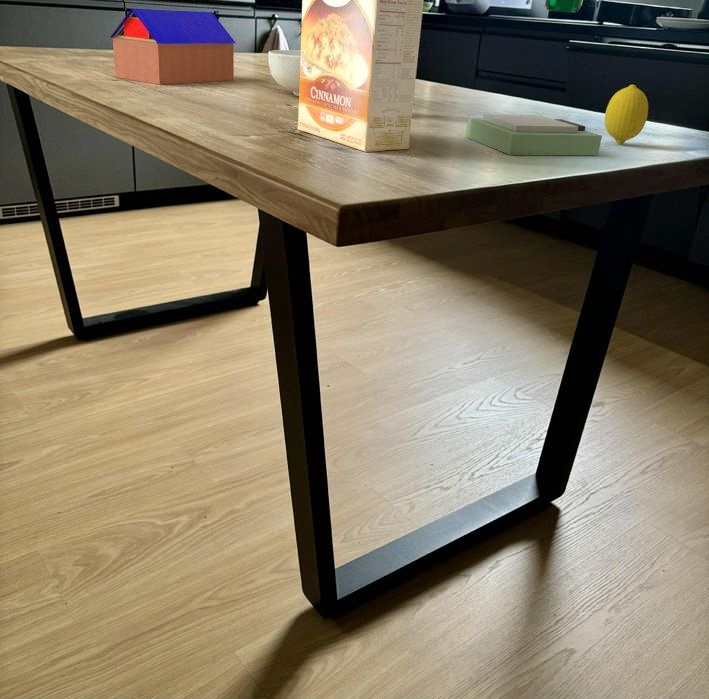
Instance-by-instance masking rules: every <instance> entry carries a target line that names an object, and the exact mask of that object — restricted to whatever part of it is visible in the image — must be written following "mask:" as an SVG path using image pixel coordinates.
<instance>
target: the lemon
mask: <svg viewBox="0 0 709 699" xmlns="http://www.w3.org/2000/svg"><path fill="white" fill-rule="evenodd" d="M648 116H649V102H648V97H647V96H646V94H645V92H643V91H642V90H641V89H640V88H638V87H637V85H635V84H629V86H627V87H624V88H621V89H620V90H618V91H617V92H615V93H614V94H613V96H612V97H611V98H610V100H609V102H608V104H607V107H606V110H605V114H604V125H605V126H604V128H605V130H606V132H607V133H608V135H609V136H610V137H612V138H613V139H614V140H615V142H616V144H618V145H623V144H624V143H626V142H627V141H629V140H630V139H633V138H635V137H637V136H638V135H639V134H640V133H641V132H642V130H643V129H644V127H645V125H646V122H647V119H648Z"/></svg>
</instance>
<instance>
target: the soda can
mask: <svg viewBox="0 0 709 699" xmlns="http://www.w3.org/2000/svg"><path fill="white" fill-rule="evenodd" d="M582 1H583V0H545V3H544V7H545V9H546V10H547V11H548V12H561V13H577V12H579V11H580V10H581V7H582V6H581V5H582Z"/></svg>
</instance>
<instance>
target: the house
mask: <svg viewBox="0 0 709 699" xmlns="http://www.w3.org/2000/svg"><path fill="white" fill-rule="evenodd" d="M110 38H112V46H113V48H112V50H113V59H114V60H113V61H114V74H115V76H114V77H115V78H117V79H124V80H130V81H136V82H143V83H148V84H154V85H159V86H161V85H162V86H163V85H176V84H190V83H207V82H220V81H221V82H222V81H223V82H224V81H234V79H235V78H234V76H235V75H234V74H235V72H234V69H235V68H234V66H235V65H234V63H235V62H234V60H235V59H234V55H235V54H234V53H235V52H234V51H235V50H234V49H235V48H234V46H235V45H234V44H236V41H235V40H234V38H233V37H232V36H231V35H230V33H229V32H228V30H227V29H226V28H225V27H224V26H223V24H222V23H221V22H220V20H219V19H218V18H217V16H216V15H215V14H214V13H213V11H196V10H195V11H194V10H193V11H192V10H172V9H171V10H169V9H168V10H167V9H146V8H145V9H144V8H130V10H129V11H128V12H127V14H126V15H125V17H124V18H123V19H122V20H121V22H120V24H119V25H118V26H117V27H116V29H115V30H114V31H113V32H112V35H111V36H110Z"/></svg>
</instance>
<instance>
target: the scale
mask: <svg viewBox="0 0 709 699" xmlns="http://www.w3.org/2000/svg"><path fill="white" fill-rule="evenodd" d="M465 130H466V131H465V138H467V139H470V140H472V141H474V142H477V143H479V144H482V145H484V146H487V147H489V148H491V149H493V150H496V149H497V150H496V151H498V152H501V151H502V152H501V153H503V152H504V154H506V155H508V156H598V155H599V152H600V148H601V143H602V138H603V135H602V134H598V133H595V132H591V131H588V130H586V125H583V124H579V123H576V122H573V121H569V120H566V119H563V118H562V119H561V118H551V117H547V116H544V115H540V114H505V113H482V116H481V117H468V118H467V123H466V129H465Z"/></svg>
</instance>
